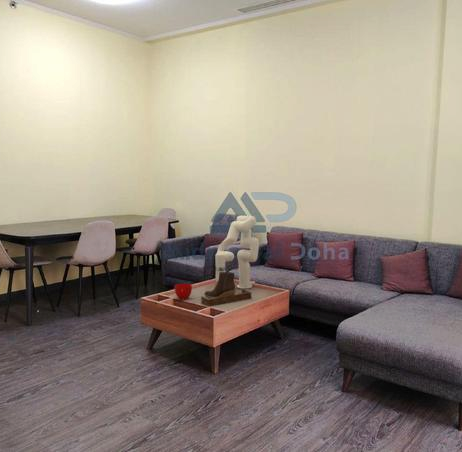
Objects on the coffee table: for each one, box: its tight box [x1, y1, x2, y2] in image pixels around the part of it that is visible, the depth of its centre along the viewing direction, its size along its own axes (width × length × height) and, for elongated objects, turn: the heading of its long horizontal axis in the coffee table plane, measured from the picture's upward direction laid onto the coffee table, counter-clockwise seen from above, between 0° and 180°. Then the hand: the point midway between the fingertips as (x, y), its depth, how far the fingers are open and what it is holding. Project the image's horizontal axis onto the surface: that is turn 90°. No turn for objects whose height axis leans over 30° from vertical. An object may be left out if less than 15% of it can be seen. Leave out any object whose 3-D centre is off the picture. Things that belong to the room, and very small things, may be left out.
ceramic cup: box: [174, 283, 193, 301], centre depth 343 cm, size 13×17×10 cm
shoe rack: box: [200, 289, 252, 307], centre depth 339 cm, size 37×11×5 cm, turn 124°
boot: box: [203, 271, 236, 299], centre depth 346 cm, size 9×24×20 cm, turn 84°
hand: (220, 291), depth 354 cm, fingers closed
